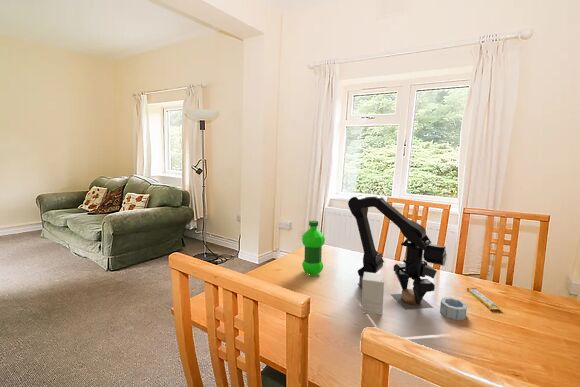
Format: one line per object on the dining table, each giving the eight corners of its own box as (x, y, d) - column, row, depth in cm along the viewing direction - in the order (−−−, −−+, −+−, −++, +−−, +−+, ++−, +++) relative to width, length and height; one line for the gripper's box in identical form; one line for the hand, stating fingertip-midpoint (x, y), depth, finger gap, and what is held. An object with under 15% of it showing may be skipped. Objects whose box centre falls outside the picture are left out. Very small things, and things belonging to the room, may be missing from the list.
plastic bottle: (297, 274, 133) (298, 222, 129) (308, 267, 142) (309, 217, 138) (317, 280, 128) (318, 225, 124) (326, 271, 137) (328, 220, 133)
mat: (405, 310, 104) (405, 309, 104) (390, 295, 114) (390, 294, 114) (433, 308, 105) (433, 307, 105) (416, 294, 116) (416, 292, 116)
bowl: (450, 322, 97) (451, 309, 96) (435, 309, 105) (436, 298, 104) (471, 320, 98) (472, 308, 97) (455, 308, 106) (456, 296, 105)
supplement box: (382, 306, 107) (384, 273, 105) (382, 316, 100) (384, 282, 98) (362, 302, 109) (364, 271, 107) (360, 312, 102) (362, 279, 100)
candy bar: (465, 290, 120) (465, 286, 120) (475, 291, 120) (475, 286, 120) (490, 313, 104) (491, 308, 103) (502, 313, 103) (503, 308, 103)
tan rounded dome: (407, 306, 106) (408, 298, 105) (397, 296, 113) (398, 289, 112) (424, 304, 107) (425, 297, 106) (414, 295, 114) (414, 288, 113)
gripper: (450, 267, 99) (446, 309, 102) (419, 249, 118) (416, 285, 120) (420, 269, 98) (417, 311, 100) (394, 250, 116) (391, 286, 118)
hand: (411, 297), depth 110 cm, fingers open, 9 cm apart
